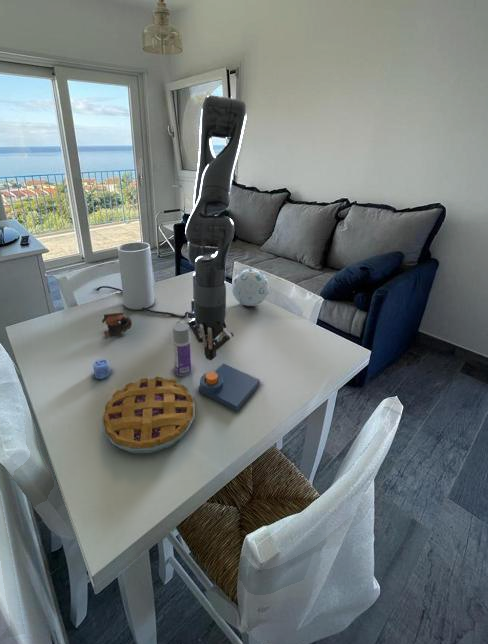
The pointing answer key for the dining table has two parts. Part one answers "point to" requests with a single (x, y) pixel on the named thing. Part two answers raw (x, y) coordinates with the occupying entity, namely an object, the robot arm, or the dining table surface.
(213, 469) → the dining table surface
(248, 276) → the puzzle ball
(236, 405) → the scale
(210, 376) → the button
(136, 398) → the pie
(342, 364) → the dining table surface
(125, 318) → the pottery mug
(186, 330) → the container
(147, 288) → the cylinder vase
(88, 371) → the dining table surface
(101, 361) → the decorative dice
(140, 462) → the dining table surface
